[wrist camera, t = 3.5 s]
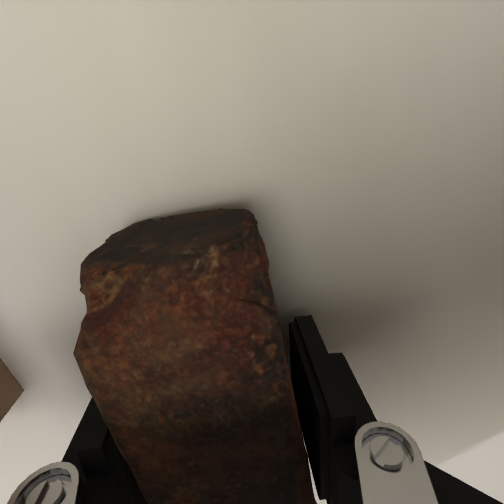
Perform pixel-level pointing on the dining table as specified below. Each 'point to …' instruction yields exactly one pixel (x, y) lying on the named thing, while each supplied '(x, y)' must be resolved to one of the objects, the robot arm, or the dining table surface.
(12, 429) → the dining table surface
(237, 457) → the brick
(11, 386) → the beige box
